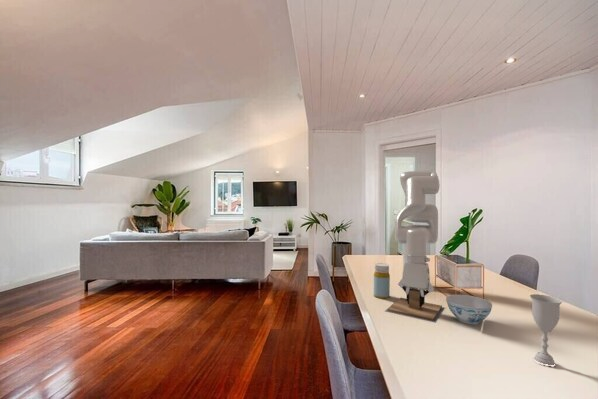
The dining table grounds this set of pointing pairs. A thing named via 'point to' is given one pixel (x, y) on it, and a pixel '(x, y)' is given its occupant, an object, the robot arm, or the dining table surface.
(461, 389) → the dining table surface
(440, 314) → the mat
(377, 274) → the bottle
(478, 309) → the chinaware
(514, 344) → the dining table surface
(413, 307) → the cover
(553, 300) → the chalice
